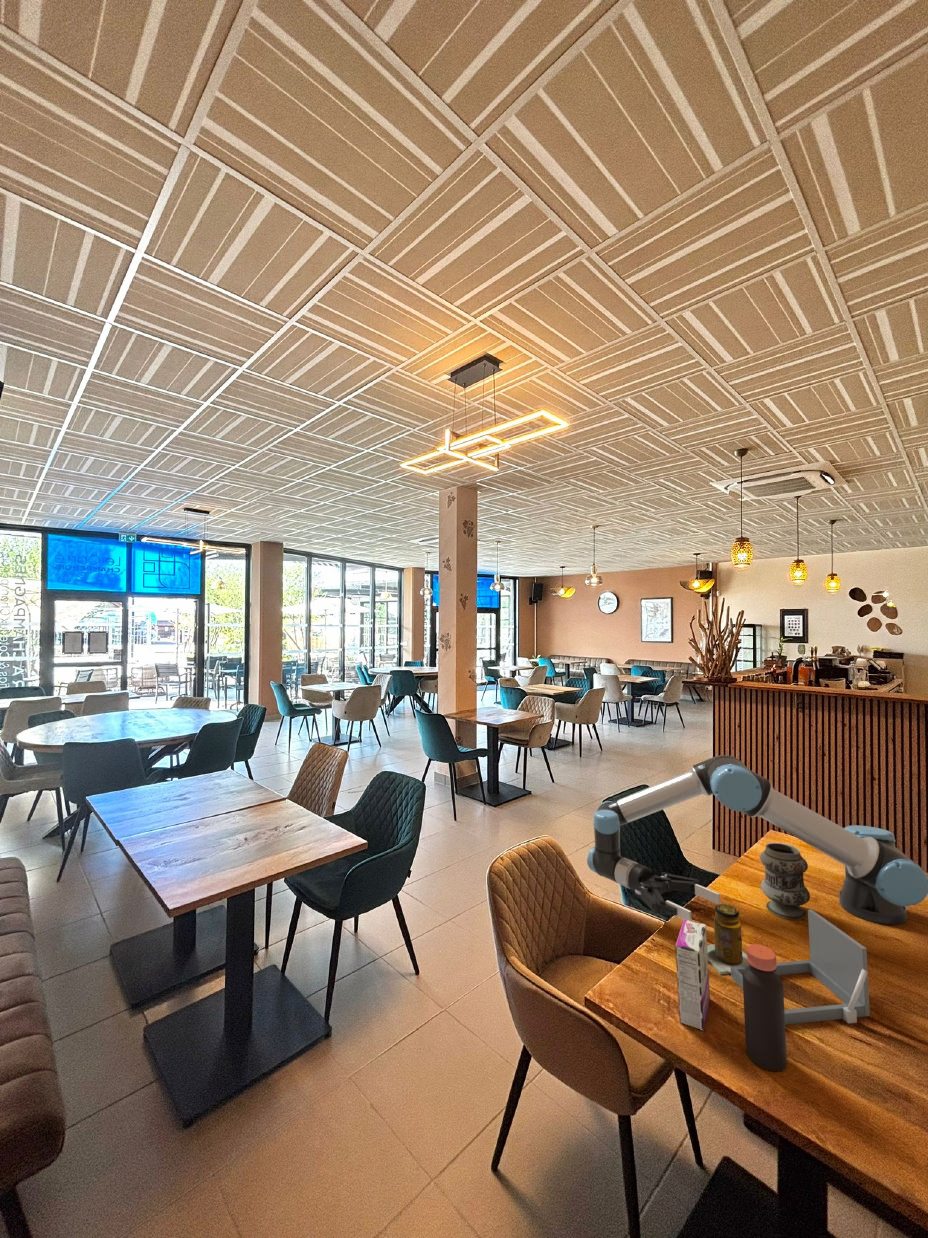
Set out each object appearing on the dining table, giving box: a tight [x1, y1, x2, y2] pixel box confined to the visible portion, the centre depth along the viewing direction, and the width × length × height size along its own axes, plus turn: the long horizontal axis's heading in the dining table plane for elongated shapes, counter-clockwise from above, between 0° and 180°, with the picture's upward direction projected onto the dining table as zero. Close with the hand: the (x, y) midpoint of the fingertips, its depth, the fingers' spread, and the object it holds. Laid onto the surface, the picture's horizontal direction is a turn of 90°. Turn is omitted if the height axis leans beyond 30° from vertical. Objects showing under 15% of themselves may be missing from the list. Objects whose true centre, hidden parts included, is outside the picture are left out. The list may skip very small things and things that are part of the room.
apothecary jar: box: [759, 841, 811, 921], centre depth 146 cm, size 12×12×18 cm
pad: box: [707, 944, 749, 975], centre depth 126 cm, size 10×10×1 cm
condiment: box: [707, 903, 748, 972], centre depth 125 cm, size 7×8×12 cm
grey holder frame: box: [730, 909, 871, 1026], centre depth 112 cm, size 21×16×14 cm
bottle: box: [742, 943, 788, 1072], centre depth 97 cm, size 7×7×20 cm
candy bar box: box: [675, 919, 711, 1032], centre depth 109 cm, size 11×5×16 cm, turn 148°
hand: (705, 908), depth 130 cm, fingers open, 13 cm apart
